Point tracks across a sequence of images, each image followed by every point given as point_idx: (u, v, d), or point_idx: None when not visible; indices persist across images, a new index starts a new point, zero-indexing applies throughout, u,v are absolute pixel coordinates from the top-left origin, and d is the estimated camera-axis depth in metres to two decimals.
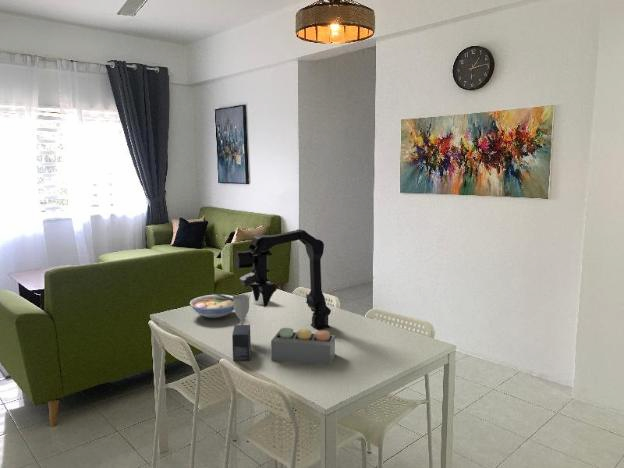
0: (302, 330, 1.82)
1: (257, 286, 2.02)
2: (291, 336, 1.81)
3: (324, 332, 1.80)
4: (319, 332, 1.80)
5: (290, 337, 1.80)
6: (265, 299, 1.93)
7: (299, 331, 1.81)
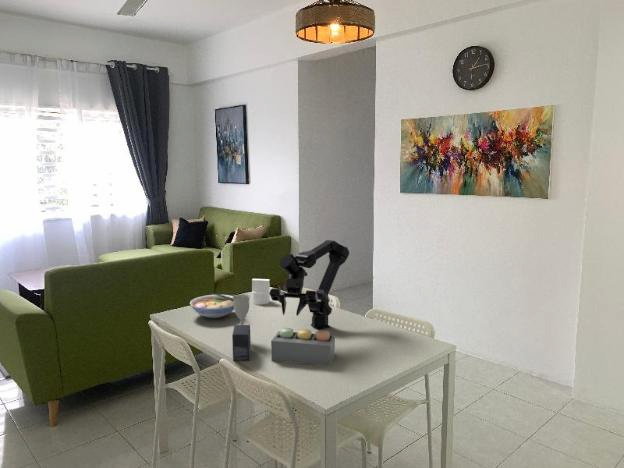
0: (302, 330, 1.82)
1: (285, 301, 1.92)
2: (291, 336, 1.81)
3: (324, 332, 1.80)
4: (319, 332, 1.80)
5: (290, 337, 1.80)
6: (300, 307, 1.88)
7: (299, 331, 1.81)
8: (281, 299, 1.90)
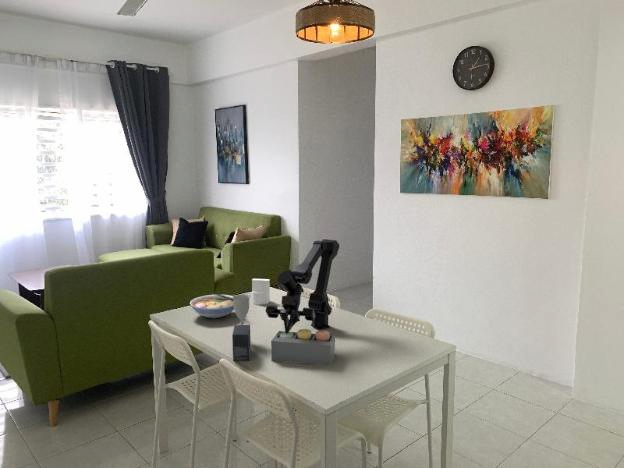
0: (302, 330, 1.82)
1: (288, 319, 1.87)
2: None
3: (324, 332, 1.80)
4: (319, 332, 1.80)
5: None
6: (291, 324, 1.84)
7: (299, 331, 1.81)
8: (284, 317, 1.85)
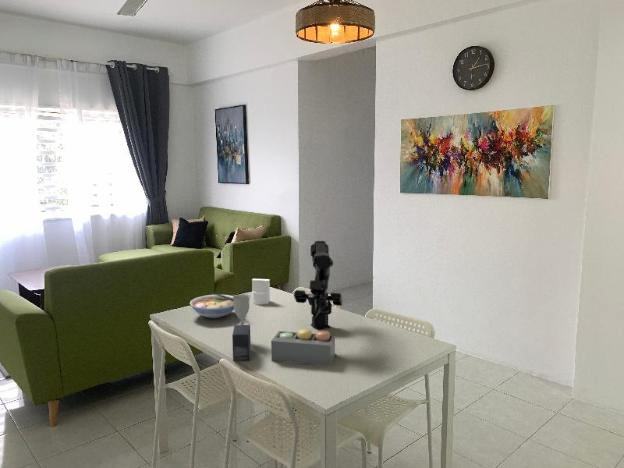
0: (302, 330, 1.82)
1: (315, 304, 1.89)
2: None
3: (324, 332, 1.80)
4: (319, 332, 1.80)
5: None
6: (319, 309, 1.86)
7: (299, 331, 1.81)
8: (312, 301, 1.87)
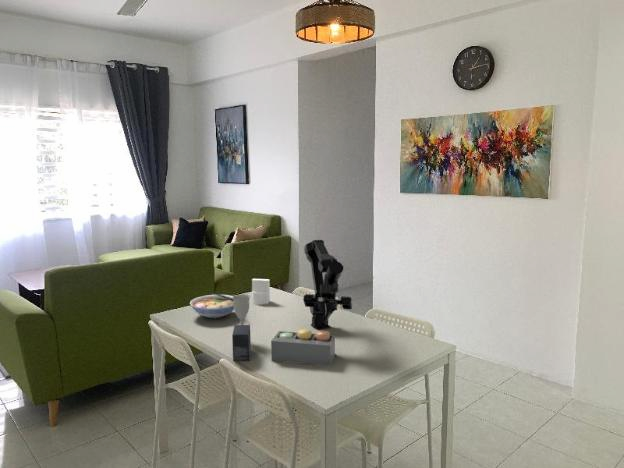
0: (302, 330, 1.82)
1: (325, 308, 1.87)
2: None
3: (324, 332, 1.80)
4: (319, 332, 1.80)
5: None
6: (329, 313, 1.85)
7: (299, 331, 1.81)
8: (322, 306, 1.85)
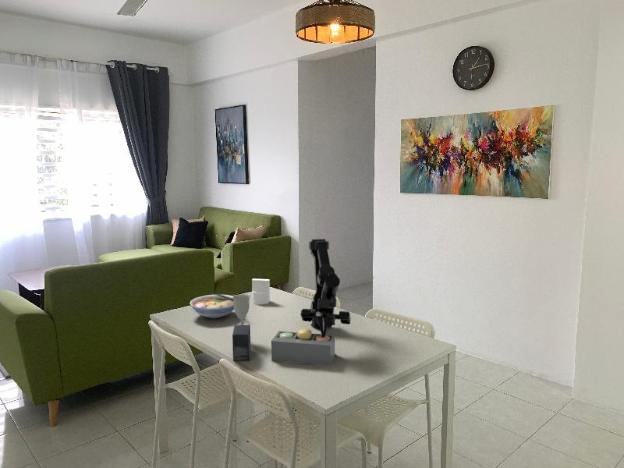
0: (302, 330, 1.82)
1: (323, 322, 1.84)
2: None
3: (324, 337, 1.80)
4: (319, 337, 1.80)
5: None
6: (327, 328, 1.81)
7: (299, 331, 1.81)
8: (319, 321, 1.82)
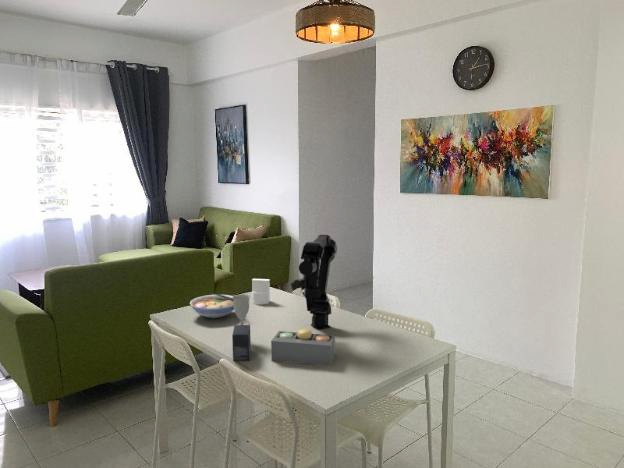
0: (302, 330, 1.82)
1: None
2: None
3: (324, 337, 1.80)
4: (319, 337, 1.80)
5: None
6: (308, 303, 1.96)
7: (299, 331, 1.81)
8: None
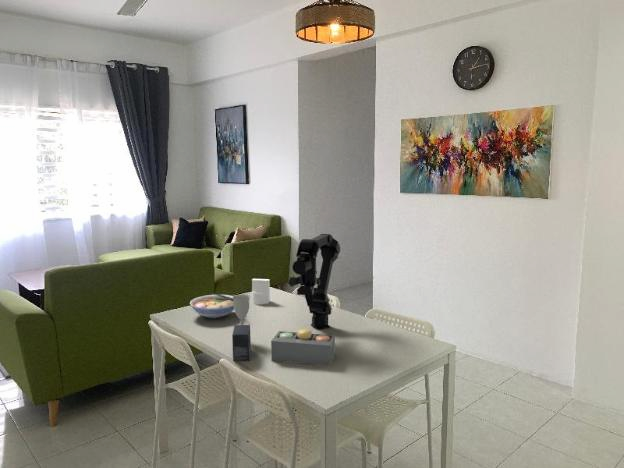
0: (302, 330, 1.82)
1: None
2: None
3: (324, 337, 1.80)
4: (319, 337, 1.80)
5: None
6: (307, 299, 1.99)
7: (299, 331, 1.81)
8: None
